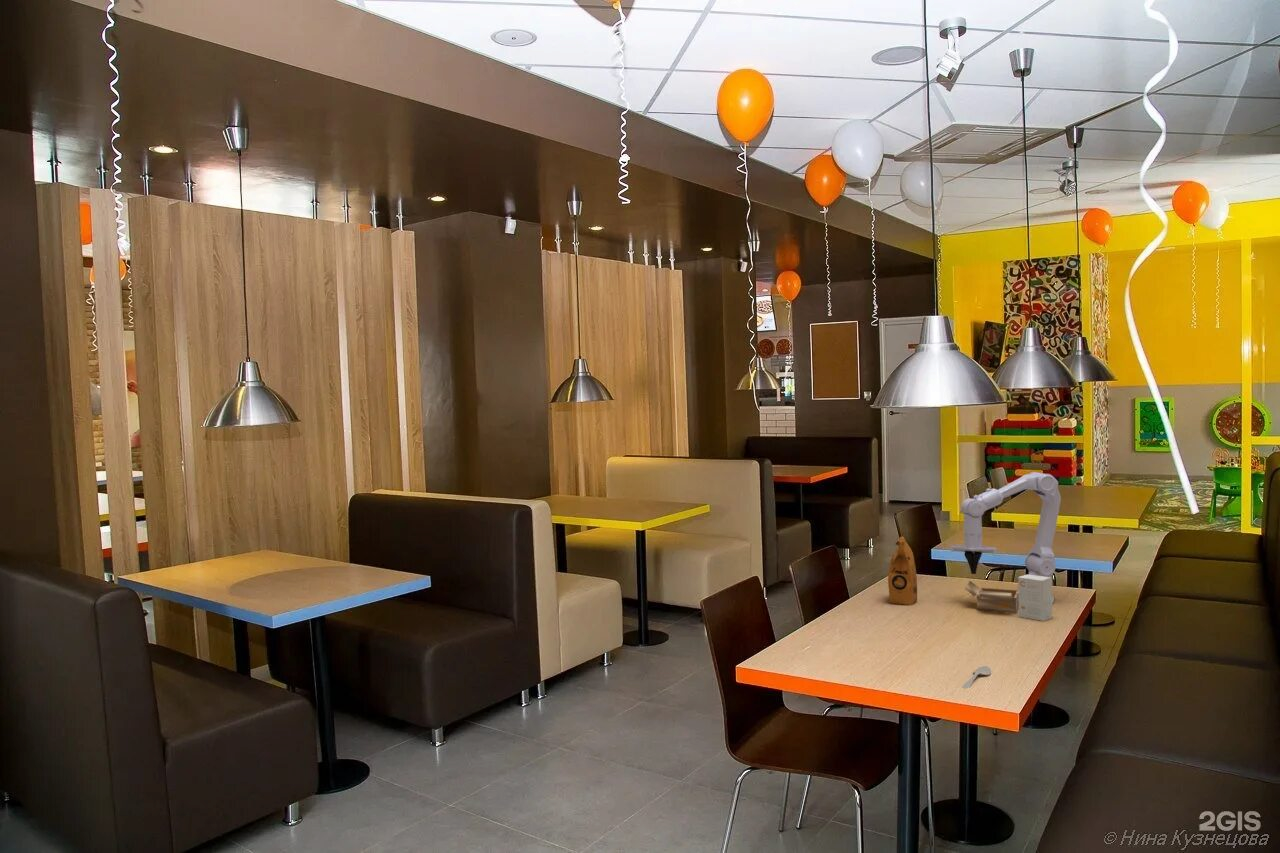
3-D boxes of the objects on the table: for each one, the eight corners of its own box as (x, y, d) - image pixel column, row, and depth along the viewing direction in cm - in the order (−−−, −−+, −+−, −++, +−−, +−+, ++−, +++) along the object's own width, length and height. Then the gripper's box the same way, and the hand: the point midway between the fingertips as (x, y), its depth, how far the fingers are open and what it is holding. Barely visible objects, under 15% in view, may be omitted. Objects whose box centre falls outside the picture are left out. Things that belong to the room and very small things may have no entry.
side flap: (970, 580, 301) (968, 582, 301) (966, 586, 292) (964, 588, 293) (980, 588, 299) (978, 590, 300) (976, 594, 291) (974, 596, 291)
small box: (1052, 617, 277) (1052, 577, 277) (1043, 621, 273) (1042, 580, 273) (1027, 613, 284) (1027, 573, 283) (1018, 617, 280) (1017, 576, 279)
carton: (981, 602, 300) (981, 587, 300) (1019, 605, 295) (1019, 590, 294) (976, 610, 290) (976, 595, 289) (1016, 613, 284) (1015, 598, 284)
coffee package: (884, 604, 302) (883, 541, 301) (891, 596, 313) (890, 535, 312) (914, 606, 297) (913, 542, 296) (920, 598, 308) (918, 536, 308)
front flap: (979, 590, 286) (979, 593, 285) (1011, 593, 281) (1011, 595, 281) (981, 595, 289) (980, 598, 288) (1012, 598, 284) (1012, 601, 284)
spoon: (994, 673, 227) (994, 667, 227) (967, 695, 211) (967, 689, 211) (978, 670, 230) (978, 664, 230) (950, 692, 214) (950, 686, 214)
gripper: (948, 534, 298) (949, 574, 298) (994, 536, 291) (995, 577, 291) (952, 531, 304) (952, 570, 304) (996, 533, 297) (997, 573, 297)
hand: (973, 573), depth 298 cm, fingers closed
